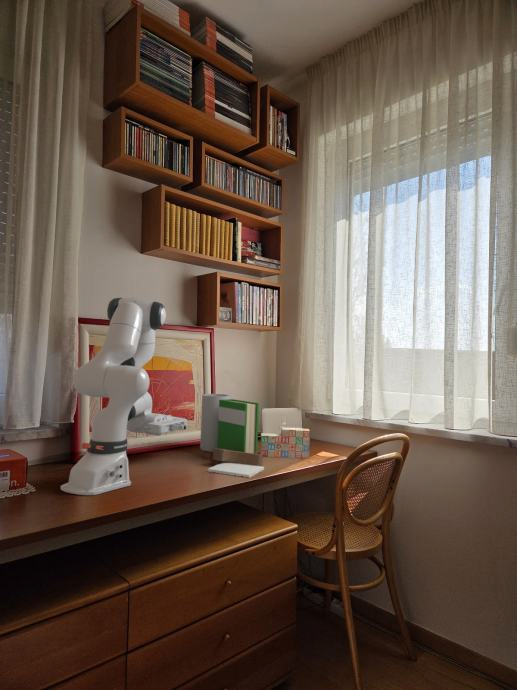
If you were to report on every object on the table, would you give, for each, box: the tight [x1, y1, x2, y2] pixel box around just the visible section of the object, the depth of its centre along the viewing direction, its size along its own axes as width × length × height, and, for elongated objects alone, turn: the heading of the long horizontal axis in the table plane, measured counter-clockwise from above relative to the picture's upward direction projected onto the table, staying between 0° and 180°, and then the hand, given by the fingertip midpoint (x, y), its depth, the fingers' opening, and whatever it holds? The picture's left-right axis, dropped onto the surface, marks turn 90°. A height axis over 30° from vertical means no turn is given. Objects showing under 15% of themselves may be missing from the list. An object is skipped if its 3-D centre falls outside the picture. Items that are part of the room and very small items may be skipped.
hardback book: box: [218, 398, 260, 454], centre depth 197 cm, size 18×7×24 cm, turn 42°
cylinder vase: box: [199, 393, 230, 453], centre depth 211 cm, size 12×12×25 cm
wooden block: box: [211, 448, 264, 466], centre depth 182 cm, size 9×4×18 cm
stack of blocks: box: [259, 426, 311, 459], centre depth 203 cm, size 21×6×12 cm, turn 89°
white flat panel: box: [207, 461, 265, 478], centre depth 174 cm, size 14×17×1 cm
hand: (184, 427), depth 184 cm, fingers closed
